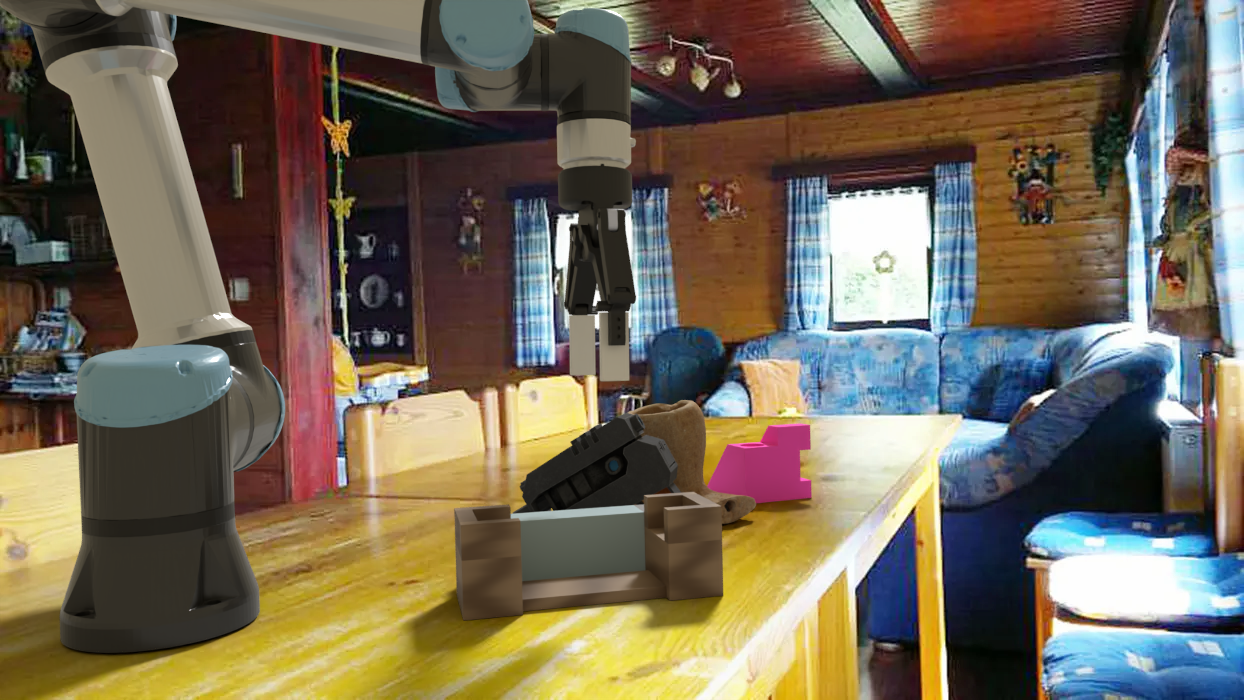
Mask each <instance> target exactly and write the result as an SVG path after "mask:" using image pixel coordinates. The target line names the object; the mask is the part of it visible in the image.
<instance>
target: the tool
mask: <svg viewBox="0 0 1244 700" xmlns="http://www.w3.org/2000/svg"><path fill="white" fill-rule="evenodd" d="M643 429H645V425H644V423H643V421H642V419H641V418H640V417H639V415H638V414H635V415H633V414H629V413H628V412H625V413H623V414H621V415H619V416H616V417H615V418H614V419H612V420H610V421H608V422H607V423H604V424H603V425H602V423H599V424H597V425H595V426H593V427H591V428H590V429H589V430H587V431H585V432H583V433H582V434H580V435H579V436H578V437H576V438H574V439H572V440H571V441H570V446H569V447H567V448H566V449H564V450H563V451H561V452H559V453H558V454H556V455H555V456H553V457H552V458H549V460H547V461H546V462H544V463H543V464H541V465H539V466H538V467H536V468H535V469H533V470H531V471H530V472H529V473H527V474H526V477H525V479H523V481H521V482H520V485H519V488H520V491H521V492H522V495H521V497H522V499H523V500H524V502H525V504H524V505H523V506H521V507H519V508H518V509H516V510H514V511H513V512H511V514H515V513H530V512H544V511H558V510H572V509H586V508H600V507H614V506H629V505H635V504H636V505H643V504H644V503H643V502H642V500H644V495H655V494H669V493H681V491H680V490H679V489H678V488H677V486H676V485H675V484H674V482H673V481H674V480H675V479H676V478H677V469H678V465H677V463H676V461H675V459H674V457H673V455H672V454H671V452H670V450H669V448H668V446H667V444H666V443H665V441H664V440H663V439H659V438H656V437H652V436H648V435H645V436H643V437H642V436H641V434H642V433H644V431H643Z"/></svg>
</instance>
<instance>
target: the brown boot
mask: <svg viewBox="0 0 1244 700" xmlns="http://www.w3.org/2000/svg"><path fill="white" fill-rule="evenodd" d="M627 413H629V414H633V415H635V414H638V415H639V417H640V418H641V419H642V421H643V423H644V425H645V429H643V431H644V433H642V434H641V436H642V437H643V436H645V435H648V436H652V437H656V438H659V439H663V440H664V441H665V443H666V444H667V446H668V448H669V450H670V452H671V454H672V455H673V457H674V459H675V461H676V463H677V465H678V469H677V478H676V479H675V480H674V481H673V482H674V484H675V485H676V486H677V488H678V489H679V490H680V491H681V493H684V492H695V493H697V494H698V495H700V496H702V497H704V498H706V499H708V500H710V501H712V502H714V503H716V504H718V505H720V506H721V512H722V525H727V524H730V523H733V522H736V521H738V520H740V519H742V518H744V517H745V516H747V515H748V514H750V512H752V511H753V510H754V509H755V508H756V506H757V503H756V502H755V499H754V498H752V497H749V496H744V495H734V494H726V493H719V492H715V491H713V490H711V489H709V488H708V487H707V484H706V483H705V481H704V480H705V479H704V465H705V463H704V462H705V456H706V448H707V433H706V432H707V430H706V429H707V428H706V420H705V416H704V412H703V411H702V409H701V407H699V405H698V404H697V403H696V401H695V402H694V400H691V399H690V400H688V399H687V400H686V399H684V400H683V399H681V400H679V401H677V402H676V403H674V404H667V403H653V404H649V405H645V406H641V407H638V408H636V409H634V410H629V411H628V412H627ZM642 502H643V503H644V500H642ZM635 505H636V504H635Z"/></svg>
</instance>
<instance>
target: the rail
mask: <svg viewBox="0 0 1244 700" xmlns="http://www.w3.org/2000/svg"><path fill="white" fill-rule="evenodd" d="M512 518H519V520H520V524H521V561H522V581H530V580H542V579H553V578H565V577H576V576H587V575H599V574H610V573H621V572H633V571H644V570H646V564H645V523H644V504H643V505H629V506H614V507H600V508H586V509H572V510H558V511H553V510H551V511H544V512H530V513H515V514H512V513H511V519H512Z"/></svg>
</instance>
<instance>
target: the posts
mask: <svg viewBox="0 0 1244 700" xmlns="http://www.w3.org/2000/svg"><path fill="white" fill-rule="evenodd" d="M511 508H512V507H511V506H510V504H499V505H498V504H495V505H483V506H468V507H467V506H466V507H454V509H453V511H454V539H455V541H454V542H455V543H454V544H455V546H454V547H455V551H454V552H455V579H456V581H455V583H456V584H455V585H456V598H457V601H458V606H459V608H460V613H461V617H462V620H463V621H471V620H481V619H493V618H501V617H513V616H523V614H524V612H527V611H528V612H529V611H539V610H540V611H541V610H549V609H550V610H551V609H559V608H561V609H562V608H569V607H570V608H571V607H579V606H580V607H581V606H590V605H591V606H592V605H600V604H601V605H603V604H610V603H611V604H613V603H622V602H623V603H625V602H631V601H632V602H634V601H643V600H655V599H665V598H666V599H667V600H669V601H679V600H689V599H699V598H708V597H709V598H710V597H718V596H719V597H720V596H724V570H723V569H724V563H723V560H724V559H723V524H722V512H721V506H720V505H718V504H716V503H714V502H712V501H710V500H708V499H706V498H704V497H702V496H700V495H698V494H697V493H695V492H684V493H669V494H655V495H644V523H645V564H646V570H644V571H633V572H621V573H610V574H599V575H587V576H576V577H565V578H553V579H542V580H530V581H522V561H521V524H520V520H519V518H512V519H511V514H512V512H511V511H512V510H511Z"/></svg>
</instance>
